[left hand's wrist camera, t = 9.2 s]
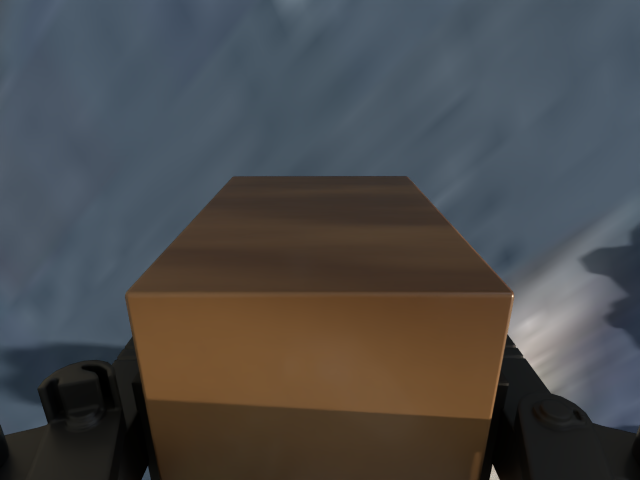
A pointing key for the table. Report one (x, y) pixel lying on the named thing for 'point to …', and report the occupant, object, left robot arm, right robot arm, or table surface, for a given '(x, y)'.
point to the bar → (319, 336)
